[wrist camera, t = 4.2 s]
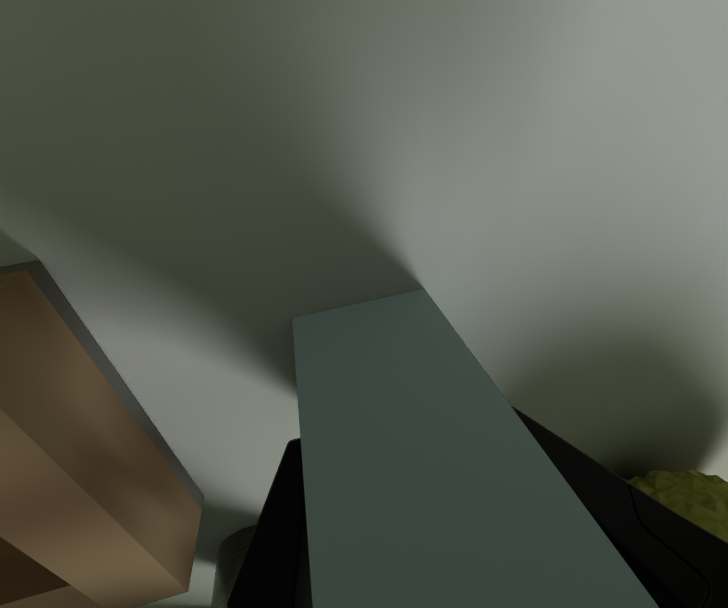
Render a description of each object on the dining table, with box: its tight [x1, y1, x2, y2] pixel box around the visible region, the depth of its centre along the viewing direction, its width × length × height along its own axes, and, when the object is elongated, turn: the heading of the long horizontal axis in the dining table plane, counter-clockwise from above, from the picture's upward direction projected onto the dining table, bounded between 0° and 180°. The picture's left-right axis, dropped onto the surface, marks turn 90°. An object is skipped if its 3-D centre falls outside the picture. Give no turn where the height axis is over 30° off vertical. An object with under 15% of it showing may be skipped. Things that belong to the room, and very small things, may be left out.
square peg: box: [292, 289, 659, 608], centre depth 8 cm, size 4×4×8 cm
